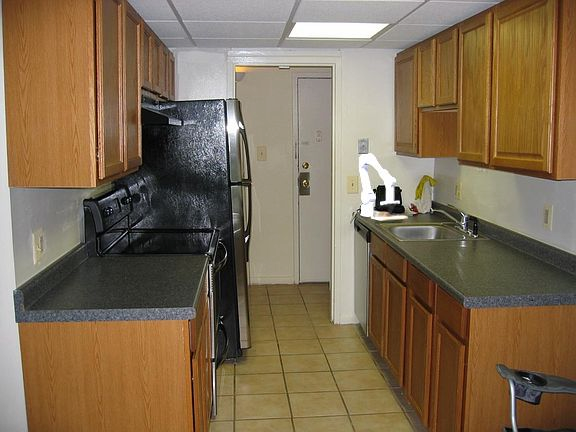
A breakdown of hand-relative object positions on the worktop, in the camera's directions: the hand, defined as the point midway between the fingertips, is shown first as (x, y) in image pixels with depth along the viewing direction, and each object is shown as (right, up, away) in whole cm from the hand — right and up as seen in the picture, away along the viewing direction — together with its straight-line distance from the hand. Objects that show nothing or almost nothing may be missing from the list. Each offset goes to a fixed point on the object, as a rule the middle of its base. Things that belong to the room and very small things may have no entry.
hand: (390, 214), depth 440 cm
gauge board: (-1, -3, -2) cm, 3 cm away
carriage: (-3, -2, -4) cm, 5 cm away
